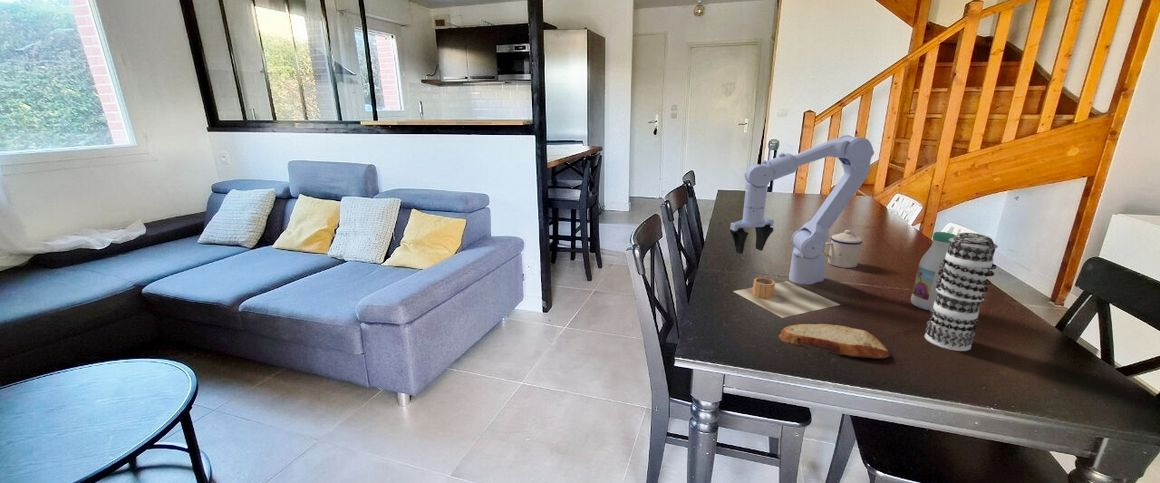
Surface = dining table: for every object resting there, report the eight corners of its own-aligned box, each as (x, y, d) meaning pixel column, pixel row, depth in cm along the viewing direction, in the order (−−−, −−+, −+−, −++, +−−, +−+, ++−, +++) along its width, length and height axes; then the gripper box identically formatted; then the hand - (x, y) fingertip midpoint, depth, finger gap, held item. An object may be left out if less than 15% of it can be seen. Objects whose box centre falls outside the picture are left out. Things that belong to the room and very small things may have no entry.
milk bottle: (941, 302, 124) (959, 231, 118) (949, 314, 117) (968, 239, 111) (907, 298, 127) (923, 228, 121) (913, 308, 120) (930, 235, 114)
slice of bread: (771, 336, 107) (773, 321, 106) (825, 321, 114) (828, 308, 113) (840, 376, 91) (843, 359, 90) (898, 356, 98) (902, 341, 97)
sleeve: (753, 289, 130) (754, 276, 129) (773, 292, 128) (775, 279, 127) (751, 296, 126) (753, 282, 124) (772, 299, 123) (774, 286, 122)
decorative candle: (977, 356, 98) (1009, 244, 91) (923, 344, 102) (950, 237, 95) (970, 338, 105) (999, 233, 98) (920, 328, 110) (945, 227, 103)
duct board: (786, 284, 137) (788, 270, 135) (839, 308, 121) (842, 292, 119) (732, 294, 129) (734, 279, 128) (781, 321, 113) (784, 304, 112)
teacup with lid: (850, 260, 157) (856, 227, 154) (862, 269, 149) (869, 234, 145) (813, 258, 159) (818, 226, 155) (824, 267, 150) (829, 233, 147)
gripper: (744, 211, 126) (739, 258, 130) (783, 207, 132) (778, 251, 136) (727, 206, 133) (722, 251, 137) (765, 202, 138) (760, 245, 142)
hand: (749, 251), depth 137 cm, fingers open, 7 cm apart
